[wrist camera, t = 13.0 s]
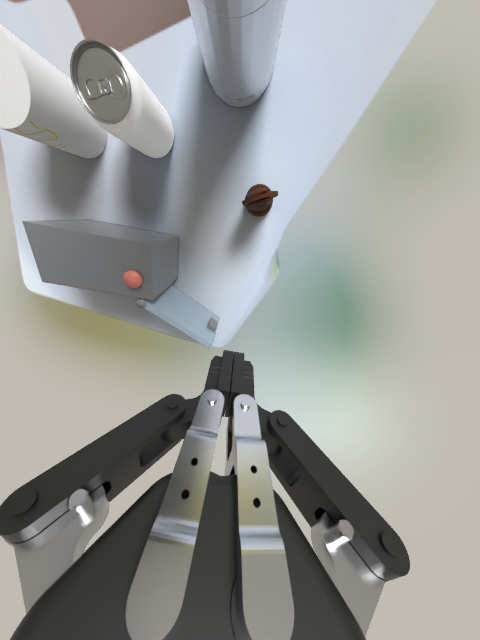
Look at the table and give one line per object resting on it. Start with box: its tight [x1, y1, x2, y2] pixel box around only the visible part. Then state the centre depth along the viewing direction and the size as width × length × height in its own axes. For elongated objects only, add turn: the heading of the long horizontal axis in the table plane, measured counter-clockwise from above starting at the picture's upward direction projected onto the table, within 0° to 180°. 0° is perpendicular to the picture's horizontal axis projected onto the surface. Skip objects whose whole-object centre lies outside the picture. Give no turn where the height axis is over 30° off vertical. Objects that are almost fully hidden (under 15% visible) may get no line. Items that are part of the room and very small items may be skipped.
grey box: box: [23, 219, 179, 300], centre depth 32 cm, size 8×18×13 cm, turn 80°
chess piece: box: [242, 184, 278, 216], centre depth 29 cm, size 5×5×10 cm
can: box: [70, 38, 174, 158], centre depth 24 cm, size 6×6×12 cm
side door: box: [136, 284, 219, 349], centre depth 36 cm, size 2×14×11 cm, turn 51°
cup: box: [0, 25, 107, 159], centre depth 24 cm, size 8×8×12 cm
